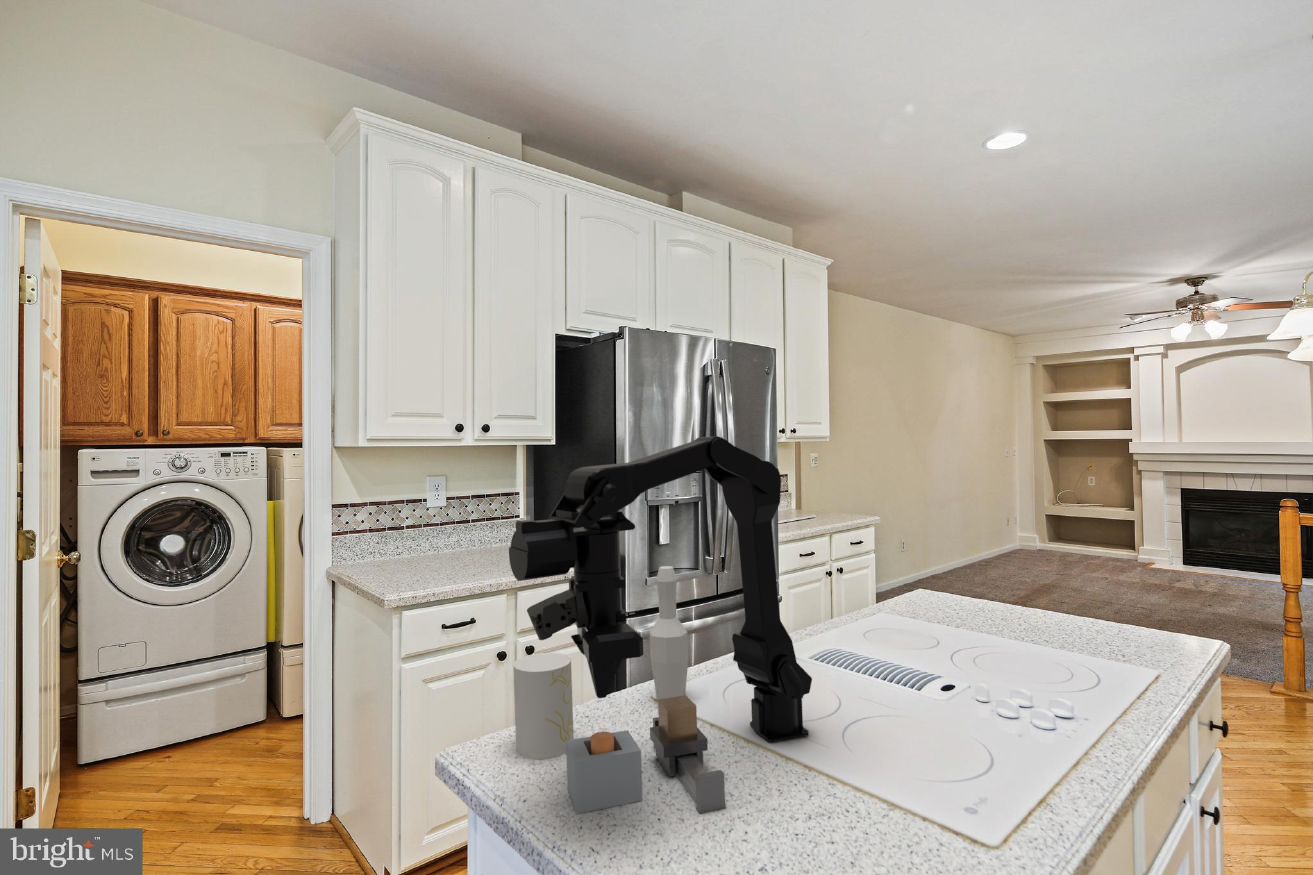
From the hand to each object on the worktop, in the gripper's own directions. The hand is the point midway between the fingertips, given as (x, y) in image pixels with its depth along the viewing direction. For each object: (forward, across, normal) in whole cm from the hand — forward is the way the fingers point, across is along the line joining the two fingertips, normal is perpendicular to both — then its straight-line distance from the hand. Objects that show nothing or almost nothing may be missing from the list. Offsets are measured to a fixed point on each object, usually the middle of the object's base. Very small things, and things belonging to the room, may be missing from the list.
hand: (601, 696), depth 81 cm
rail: (+12, -1, +11) cm, 16 cm away
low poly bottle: (+12, -25, +17) cm, 32 cm away
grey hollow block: (+12, 0, 0) cm, 12 cm away
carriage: (+12, -4, +11) cm, 17 cm away
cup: (+12, -16, -5) cm, 21 cm away
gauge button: (+8, 0, 0) cm, 8 cm away
